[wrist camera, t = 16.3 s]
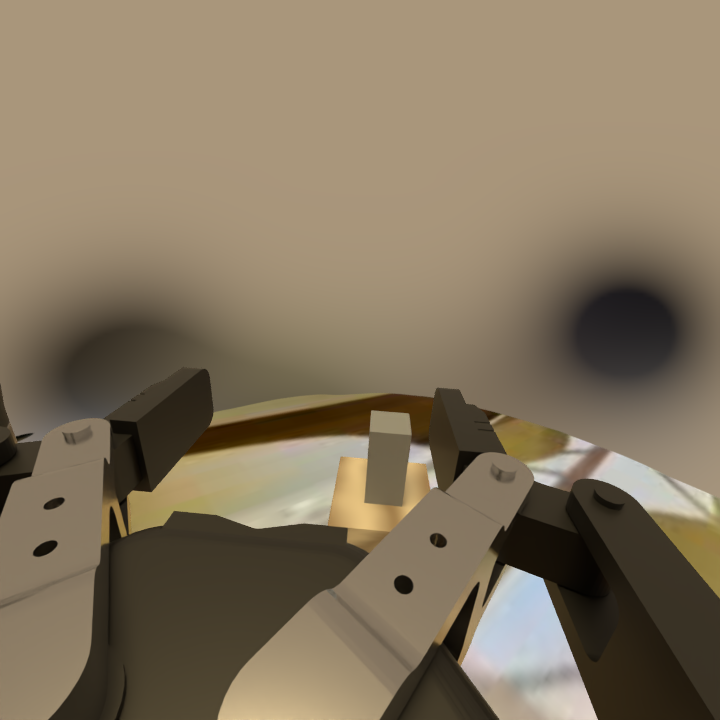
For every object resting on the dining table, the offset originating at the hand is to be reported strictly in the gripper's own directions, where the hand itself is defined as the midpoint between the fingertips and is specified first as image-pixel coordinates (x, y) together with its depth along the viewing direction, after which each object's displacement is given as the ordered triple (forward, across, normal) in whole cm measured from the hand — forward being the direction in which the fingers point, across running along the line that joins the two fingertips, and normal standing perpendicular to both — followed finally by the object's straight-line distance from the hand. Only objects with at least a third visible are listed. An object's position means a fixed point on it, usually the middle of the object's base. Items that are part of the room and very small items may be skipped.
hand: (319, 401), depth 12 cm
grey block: (+23, -4, +25) cm, 34 cm away
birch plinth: (+23, -4, +30) cm, 38 cm away
